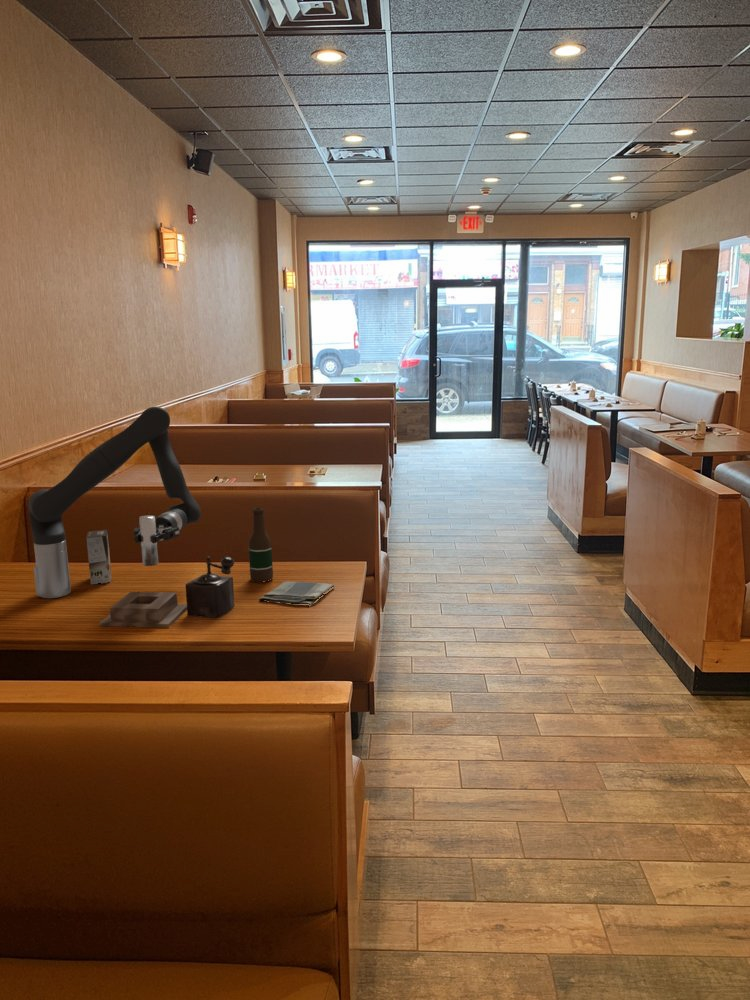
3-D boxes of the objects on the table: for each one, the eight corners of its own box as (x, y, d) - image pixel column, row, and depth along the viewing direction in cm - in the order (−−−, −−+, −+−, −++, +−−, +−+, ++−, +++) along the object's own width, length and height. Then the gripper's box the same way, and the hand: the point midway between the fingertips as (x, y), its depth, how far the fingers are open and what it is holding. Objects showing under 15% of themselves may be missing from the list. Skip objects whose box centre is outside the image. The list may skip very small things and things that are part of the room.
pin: (140, 565, 220) (136, 518, 217) (146, 561, 224) (142, 515, 221) (155, 566, 219) (151, 518, 216) (160, 561, 223) (157, 515, 221)
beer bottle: (245, 579, 251) (241, 508, 246) (266, 574, 256) (262, 505, 251) (256, 584, 245) (253, 512, 240) (277, 579, 250) (274, 508, 245)
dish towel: (284, 585, 246) (284, 575, 245) (335, 590, 240) (335, 580, 239) (257, 603, 229) (256, 593, 228) (311, 609, 223) (311, 599, 222)
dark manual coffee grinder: (184, 616, 218) (180, 555, 214) (204, 603, 228) (200, 545, 225) (233, 621, 213) (229, 559, 210) (251, 608, 224) (248, 549, 220)
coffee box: (111, 582, 250) (106, 535, 247) (90, 585, 248) (85, 537, 245) (111, 575, 259) (107, 529, 255) (91, 577, 257) (87, 531, 253)
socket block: (99, 625, 211) (97, 608, 210) (124, 606, 227) (122, 590, 226) (168, 627, 209) (167, 610, 208) (188, 607, 225) (187, 591, 224)
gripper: (143, 513, 234) (119, 526, 217) (188, 513, 232) (168, 527, 216) (144, 537, 235) (121, 552, 219) (189, 537, 234) (170, 552, 217)
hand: (145, 539), depth 217 cm, fingers closed on pin, 4 cm apart
